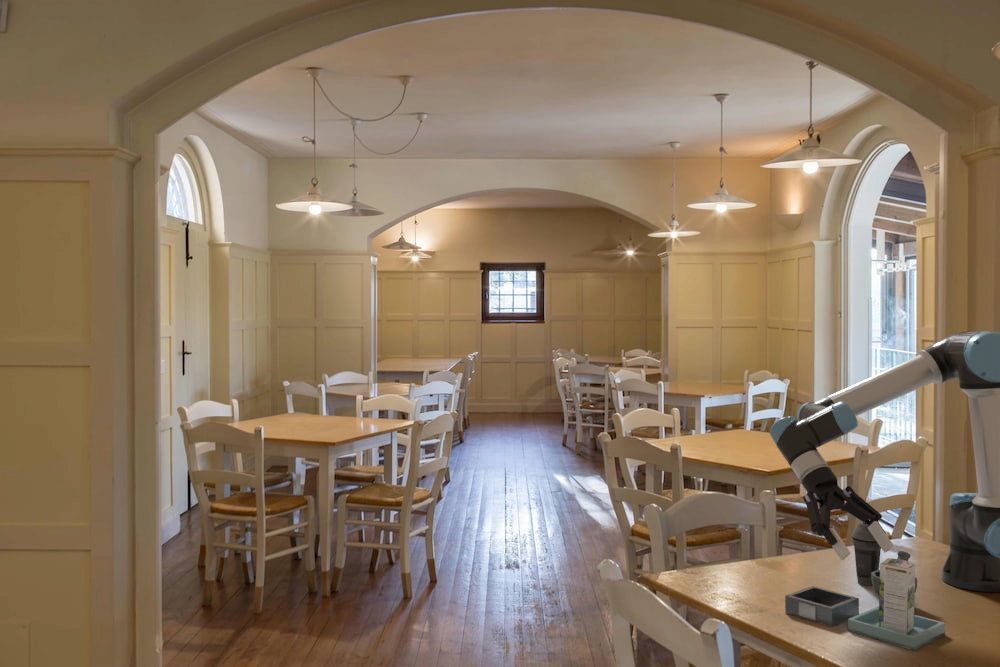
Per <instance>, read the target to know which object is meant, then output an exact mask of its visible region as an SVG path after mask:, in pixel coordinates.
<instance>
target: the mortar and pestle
mask: <svg viewBox="0 0 1000 667" xmlns="http://www.w3.org/2000/svg"><path fill="white" fill-rule="evenodd" d="M911 557H912V556H911V554H910V553H909V552H907V551H904V550H898V551H897V558H896V559H900V560H905V561H909V559H910V558H911ZM871 580H872V585H873V587H872V588H873V589H874V591H875V592H876V595H878V596H879V590H880V569H879V570H877V571H874V572H871ZM917 587H918V578H917V577H916V576H915V593H916V592H917Z"/></svg>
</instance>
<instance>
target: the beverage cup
mask: <svg viewBox="0 0 1000 667" xmlns="http://www.w3.org/2000/svg"><path fill="white" fill-rule="evenodd" d="M868 520H869V519H868ZM868 527H869V525H867V524H866V523H864V522H861V523H858V525H856V526H855V528H854V529H853V532H852V536H851V538H852V543H853V544H852V545H853V549H854V560H855V568H856V569H855V572H856V578H857V579H856V580H857V584H859V585H860V586H864V587H869V586H873V585H872V580H871V572H874V571H877V570H880V562H881V561H880V560H881V552H882V548H881V547H880V545H879V544H878V543H877V541H876V540H875V538H874V537H873V535H872V534H871V532H870V531H869V530H868Z"/></svg>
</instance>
